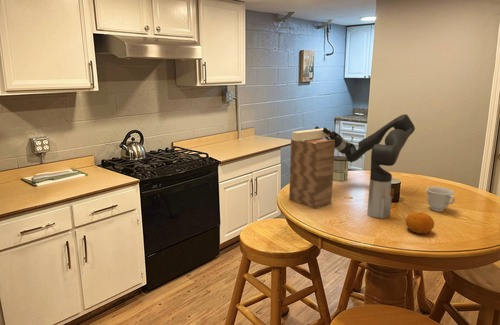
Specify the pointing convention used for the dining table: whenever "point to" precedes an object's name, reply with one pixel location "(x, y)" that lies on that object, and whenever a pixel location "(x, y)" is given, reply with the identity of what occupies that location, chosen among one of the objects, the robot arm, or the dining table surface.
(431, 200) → the teacup
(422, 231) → the fruit
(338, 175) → the coffee can
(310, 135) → the block
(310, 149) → the brown patterned box
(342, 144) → the robot arm
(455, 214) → the dining table surface
